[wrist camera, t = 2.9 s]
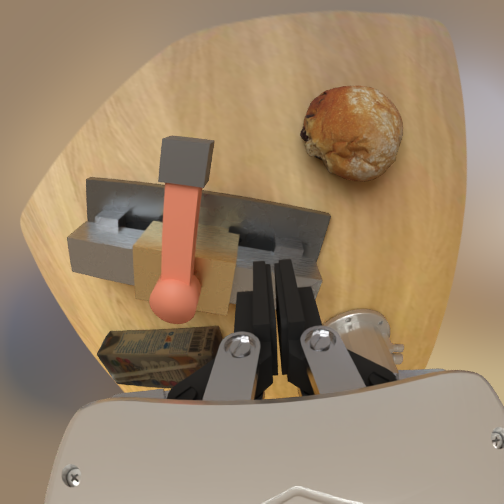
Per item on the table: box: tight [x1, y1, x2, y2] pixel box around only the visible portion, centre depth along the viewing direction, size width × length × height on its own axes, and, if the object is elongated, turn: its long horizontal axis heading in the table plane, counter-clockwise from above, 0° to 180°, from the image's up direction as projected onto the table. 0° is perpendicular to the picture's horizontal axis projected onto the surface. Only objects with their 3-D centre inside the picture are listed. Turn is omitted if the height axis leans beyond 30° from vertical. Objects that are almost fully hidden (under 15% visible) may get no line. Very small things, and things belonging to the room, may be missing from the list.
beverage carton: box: [97, 326, 223, 388], centre depth 38 cm, size 8×19×7 cm, turn 99°
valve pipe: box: [67, 177, 331, 315], centre depth 29 cm, size 28×13×8 cm, turn 80°
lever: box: [149, 136, 214, 324], centre depth 21 cm, size 15×4×3 cm, turn 170°
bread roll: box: [300, 86, 403, 181], centre depth 24 cm, size 10×10×8 cm
